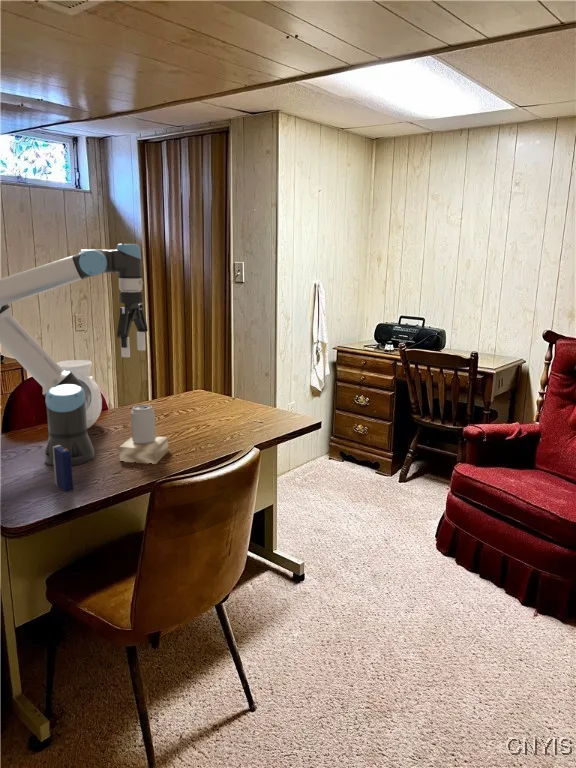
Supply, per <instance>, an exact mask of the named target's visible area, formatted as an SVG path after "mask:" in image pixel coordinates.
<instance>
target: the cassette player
mask: <svg viewBox="0 0 576 768" xmlns="http://www.w3.org/2000/svg"><path fill="white" fill-rule="evenodd" d="M53 464H54V466H53V475H54V484H56V486H57V485H58V486H59V487H60V488H59V487H58V486H57V487H58V488H59V489H60V490H62V489H63V490H64V491H63V490H62V491H63V492H65V491H68V492H70V491H69V490H72V491H74V482H73V471H72V466H71V454H70V451H69V450H67V449H66V448H64V447H63V446H61V445H56V446H53Z"/></svg>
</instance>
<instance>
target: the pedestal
mask: <svg viewBox="0 0 576 768" xmlns="http://www.w3.org/2000/svg"><path fill="white" fill-rule="evenodd" d="M118 448H119V449H118V455H119V462H120V461H124V462H123V463H134V462H136V463H137V464H149V463H152V464H153V465H156V464H158V462H159V461H161V459H162V458H163V457H164V456H165V455H167V453H168V452H169V437H167V436H156V439H155V440H154V441H153V442H152V443H150V444H145V445H140V444H136V443H135V442H133V441H132V436H131V437H130V438H128V439H127V440H126V441H124V442H123V443H122V444H121V445H120V446H119V447H118Z"/></svg>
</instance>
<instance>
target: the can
mask: <svg viewBox="0 0 576 768" xmlns="http://www.w3.org/2000/svg"><path fill="white" fill-rule="evenodd" d="M155 416H156V415H155V410H154V409H153V406H152V405H150V404H138V405H134V406H133V407H132V410H131V411H130V422H131V424H130V425H131V427H130V428H131V437H132V441H133V442H135V443H136V444H140V445H145V444H150V443H152V442H153V441H154V440H155V439H156V437H157V436H156V434H157V433H156V417H155Z"/></svg>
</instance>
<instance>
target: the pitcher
mask: <svg viewBox="0 0 576 768" xmlns="http://www.w3.org/2000/svg"><path fill="white" fill-rule="evenodd" d="M56 363H57V364H58V365H59V366H60V367H61V369H62V370H64V371H70V372H72V374H73V375H74V376H75V377H76V378H77V379H80V380H82V381H83V382H85V383H86V384H87V385H88V387H89V388H90V391H91V396H92V397H91V403H90V405H89V407H88V409H87V411H86V419H87V429H89V428H91V427H92V426H93V425H94V424H95V423H96V422H97V420H98V418H100V415H101V412H102V409H103V404H102V403H103V399H102V394H101V393H102V392H101V391H100V387H99V386H98V384H97V381H96V380H95V379H94V376H92V375H91V376H90V372H91V369H92V365H93V362H92V361H91V360H89V359H88V360H86V359H73V360H72V359H69V360H68V359H67V360H62V361H56Z"/></svg>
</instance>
